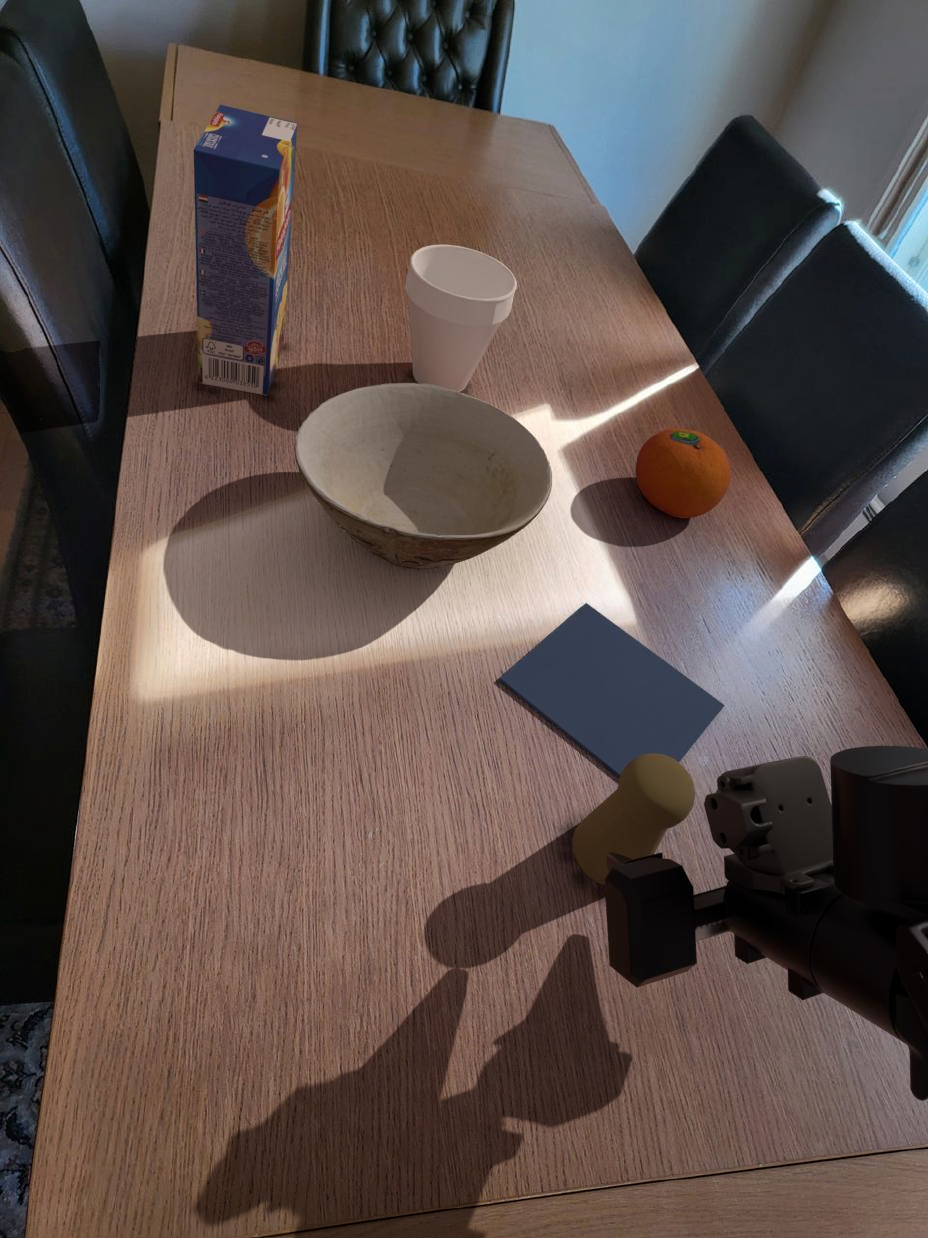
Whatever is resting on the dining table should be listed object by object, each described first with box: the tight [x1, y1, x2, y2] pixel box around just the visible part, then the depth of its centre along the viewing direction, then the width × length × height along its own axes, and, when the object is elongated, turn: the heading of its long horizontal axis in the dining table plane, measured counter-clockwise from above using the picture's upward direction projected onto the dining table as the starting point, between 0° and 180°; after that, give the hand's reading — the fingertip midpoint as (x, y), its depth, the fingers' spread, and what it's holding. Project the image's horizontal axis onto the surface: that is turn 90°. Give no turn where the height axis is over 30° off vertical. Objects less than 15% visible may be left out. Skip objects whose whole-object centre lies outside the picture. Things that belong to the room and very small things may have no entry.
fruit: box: [635, 428, 732, 519], centre depth 92 cm, size 11×10×8 cm
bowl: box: [293, 382, 553, 569], centre depth 79 cm, size 24×24×10 cm
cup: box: [404, 244, 518, 393], centre depth 96 cm, size 12×12×14 cm
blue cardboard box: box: [192, 104, 298, 396], centre depth 86 cm, size 12×8×24 cm, turn 0°
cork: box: [571, 753, 696, 887], centre depth 60 cm, size 6×6×11 cm
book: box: [498, 602, 725, 779], centre depth 74 cm, size 16×14×1 cm
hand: (666, 845), depth 56 cm, fingers open, 9 cm apart
